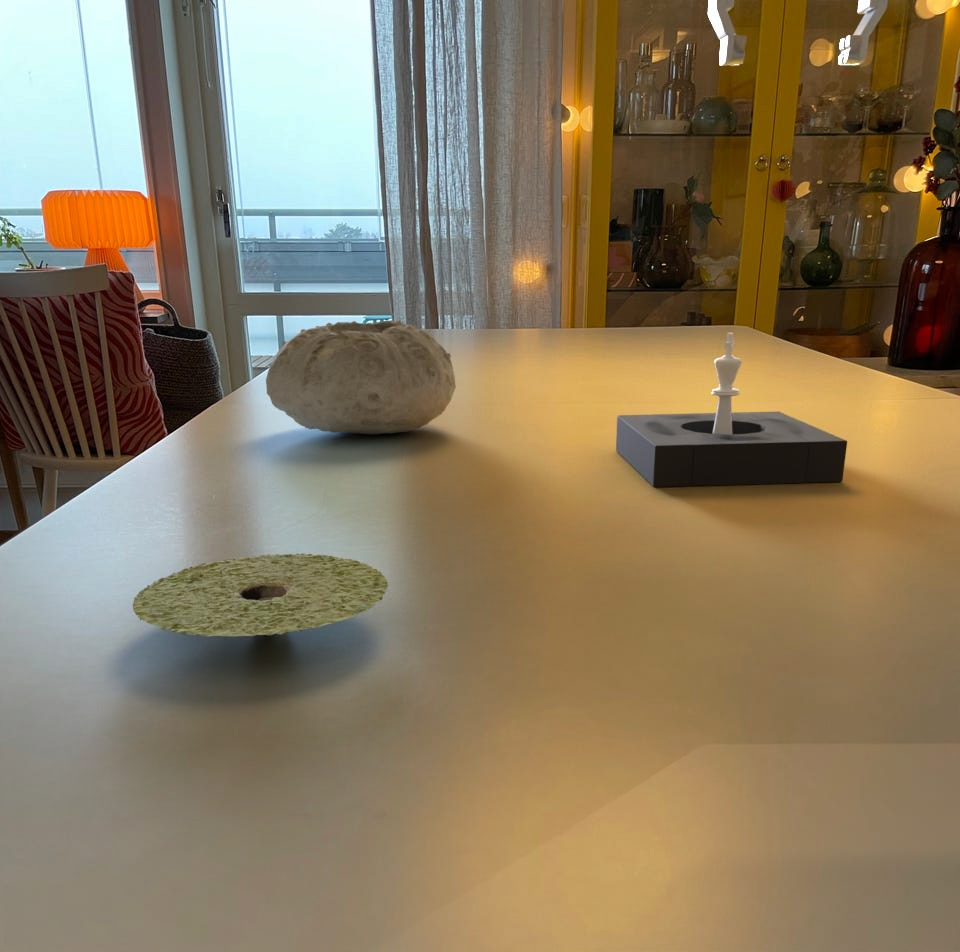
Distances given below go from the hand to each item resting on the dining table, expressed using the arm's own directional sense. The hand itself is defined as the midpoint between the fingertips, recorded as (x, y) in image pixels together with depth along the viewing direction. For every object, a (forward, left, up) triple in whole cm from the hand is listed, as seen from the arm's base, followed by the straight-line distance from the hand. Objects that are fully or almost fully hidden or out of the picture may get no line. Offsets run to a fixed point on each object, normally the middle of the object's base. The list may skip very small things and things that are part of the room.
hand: (791, 64), depth 74 cm
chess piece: (+6, +9, -29) cm, 31 cm away
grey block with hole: (+6, +9, -29) cm, 31 cm away
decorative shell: (+35, -11, -29) cm, 47 cm away
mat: (+37, +42, -29) cm, 63 cm away
